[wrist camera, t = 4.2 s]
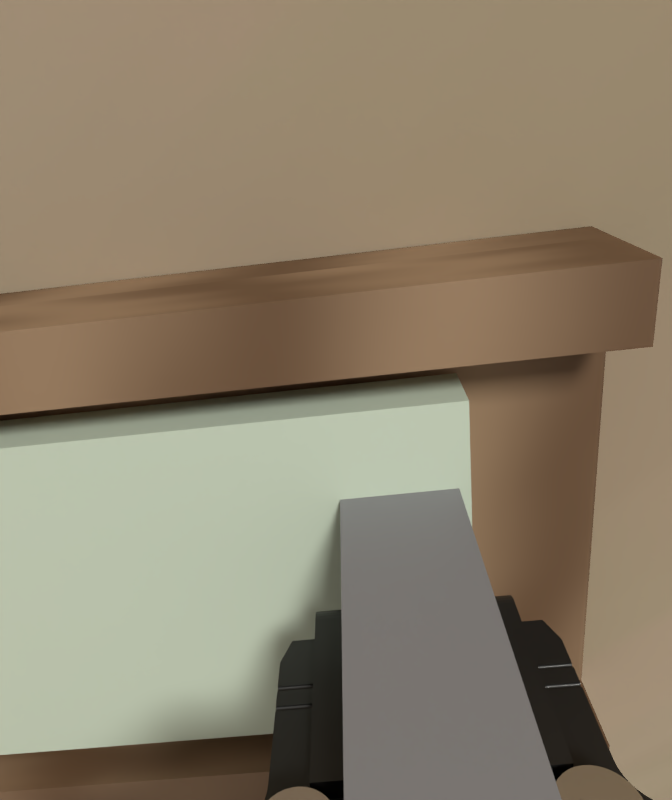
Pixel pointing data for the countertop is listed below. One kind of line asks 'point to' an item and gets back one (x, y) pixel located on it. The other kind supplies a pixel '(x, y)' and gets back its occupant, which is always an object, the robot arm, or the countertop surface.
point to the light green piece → (262, 583)
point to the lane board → (350, 364)
